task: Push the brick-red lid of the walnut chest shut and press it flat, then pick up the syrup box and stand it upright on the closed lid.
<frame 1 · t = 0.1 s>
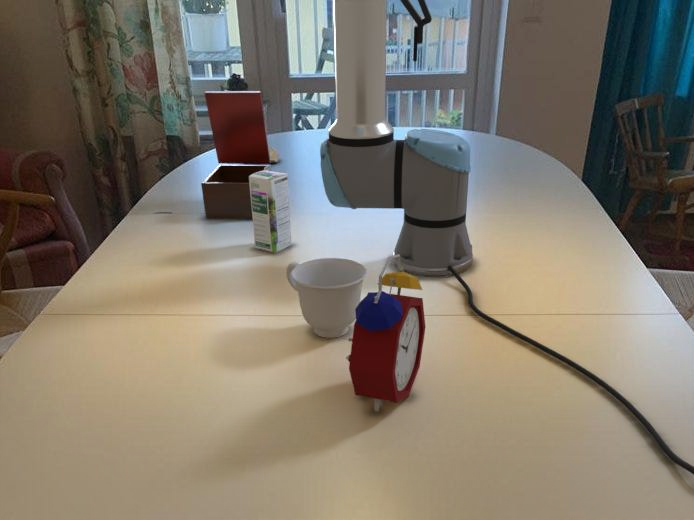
hand: (385, 60, 166), 28 cm above the table, tool pointing down, fingers open, 13 cm apart
chest: (240, 208, 174), on the table
teacup: (324, 329, 122), on the table
lid: (238, 128, 168), point 16 cm above the table, hinge at 75.0°
stone: (260, 163, 206), on the table
alarm clock: (380, 393, 105), on the table
syrup box: (273, 247, 153), on the table
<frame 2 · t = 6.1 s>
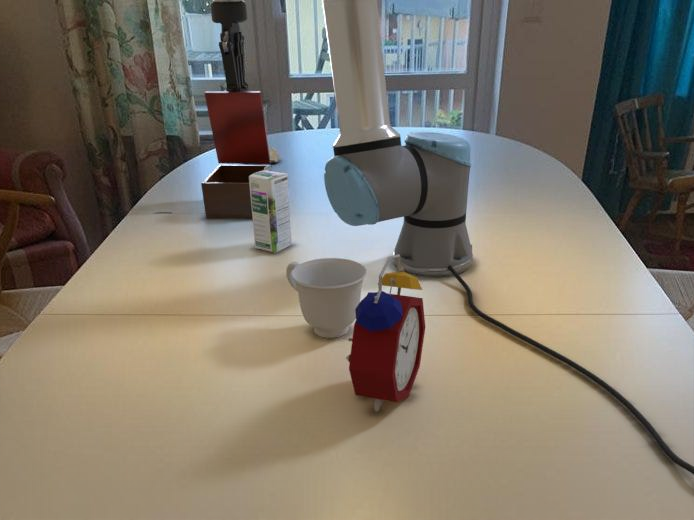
hand: (240, 122, 169), 17 cm above the table, tool pointing down, fingers closed
lid: (238, 128, 168), point 16 cm above the table, hinge at 75.0°, touching gripper
everything else where it was.
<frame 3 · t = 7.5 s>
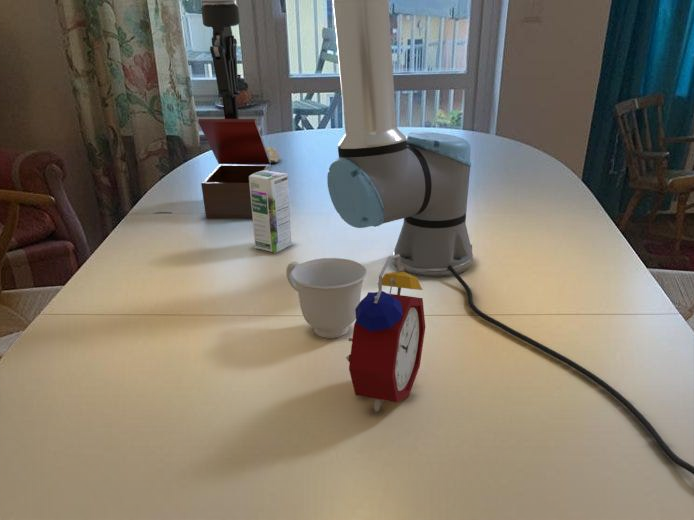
hand: (232, 128, 163), 17 cm above the table, tool pointing down, fingers closed
lid: (235, 142, 167), point 14 cm above the table, hinge at 44.8°, touching gripper
everything else where it was.
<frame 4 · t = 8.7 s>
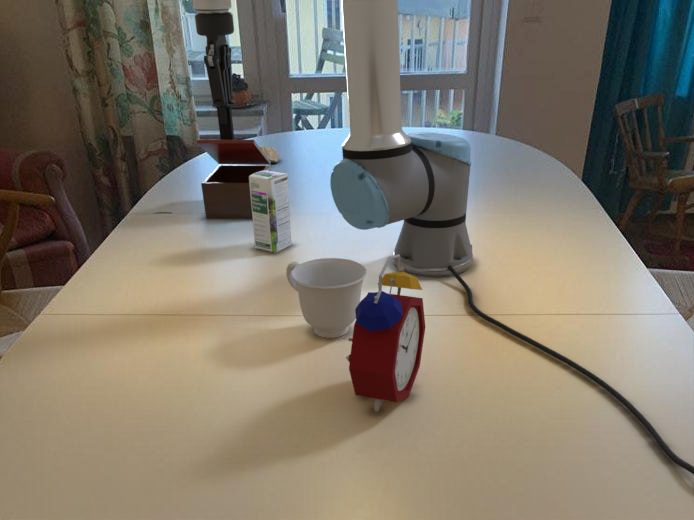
hand: (227, 138, 160), 16 cm above the table, tool pointing down, fingers closed
lid: (235, 152, 167), point 12 cm above the table, hinge at 29.0°, touching gripper
everything else where it was.
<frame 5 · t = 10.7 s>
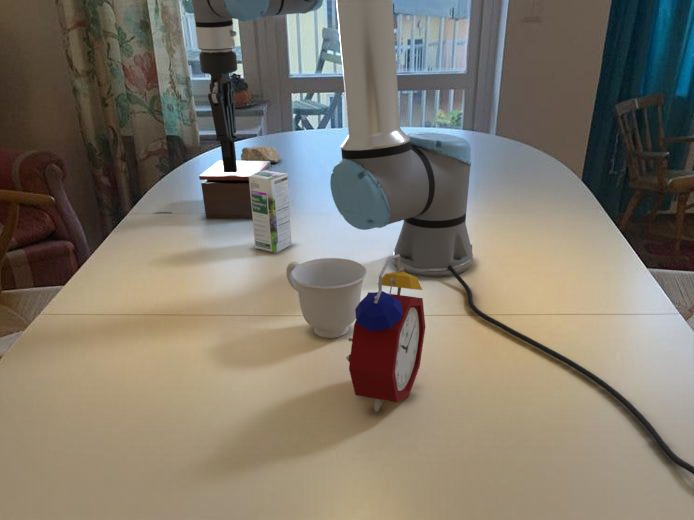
hand: (230, 171, 164), 10 cm above the table, tool pointing down, fingers closed
lid: (236, 170, 168), point 9 cm above the table, hinge at 3.1°, touching gripper
everything else where it was.
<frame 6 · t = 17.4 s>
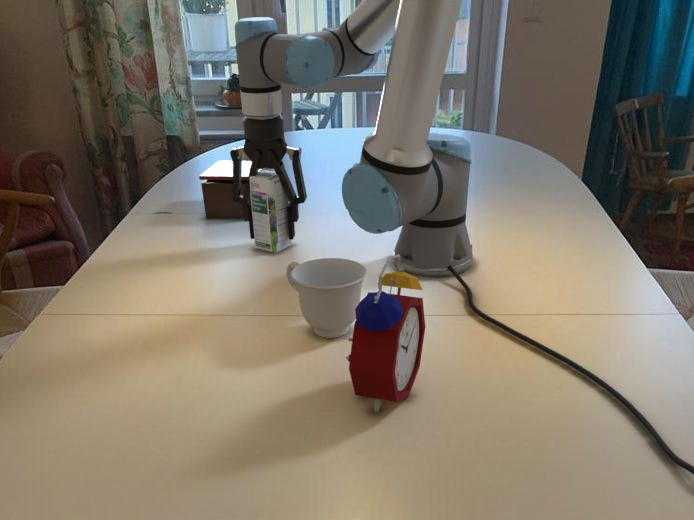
hand: (272, 236, 151), 2 cm above the table, tool pointing down, fingers closed on syrup box, 7 cm apart
lid: (236, 170, 168), point 9 cm above the table, hinge at 3.1°
syrup box: (273, 247, 153), on the table, touching gripper
everything else where it was.
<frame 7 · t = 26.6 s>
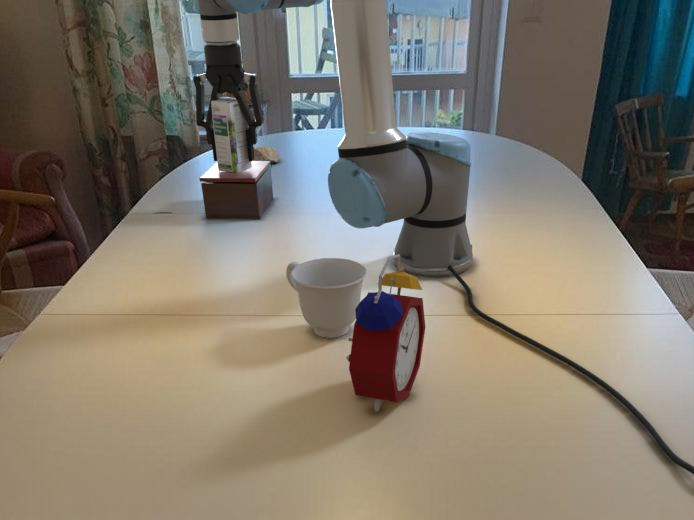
hand: (234, 159, 166), 11 cm above the table, tool pointing down, fingers closed on syrup box, 7 cm apart
lid: (236, 171, 168), point 9 cm above the table, hinge at 1.8°, touching syrup box
syrup box: (235, 170, 167), point 9 cm above the table, touching gripper, lid
everything else where it was.
when the fingers open (11 cm above the table, at t = 26.7 s): syrup box stays where it is, resting on lid.
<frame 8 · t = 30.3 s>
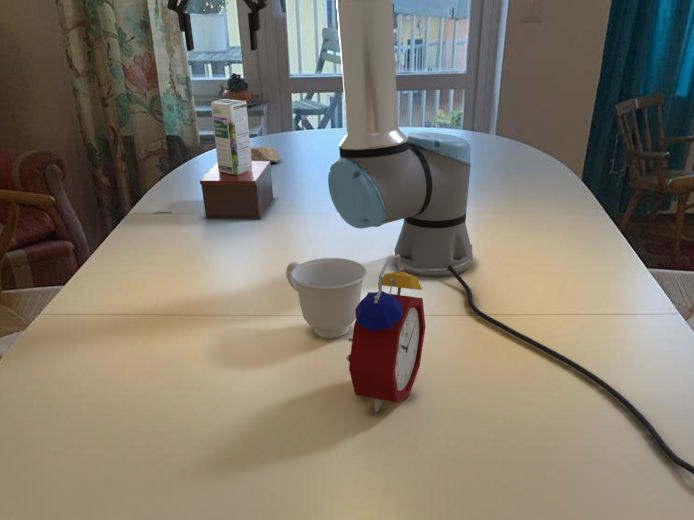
hand: (222, 50, 153), 33 cm above the table, tool pointing down, fingers open, 13 cm apart
lid: (236, 172, 168), point 8 cm above the table, hinge at -0.2°, touching chest, syrup box
syrup box: (235, 172, 168), point 8 cm above the table, touching lid
everything else where it was.
at the end: lid at +0° (first picture: +75°); syrup box inside the target area on the chest (1.1 cm from its centre), point 8.4 cm above the chest's base; syrup box tilted 0° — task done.
